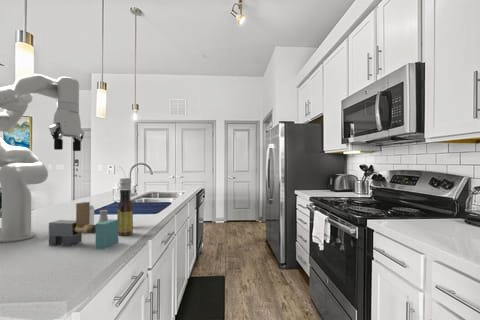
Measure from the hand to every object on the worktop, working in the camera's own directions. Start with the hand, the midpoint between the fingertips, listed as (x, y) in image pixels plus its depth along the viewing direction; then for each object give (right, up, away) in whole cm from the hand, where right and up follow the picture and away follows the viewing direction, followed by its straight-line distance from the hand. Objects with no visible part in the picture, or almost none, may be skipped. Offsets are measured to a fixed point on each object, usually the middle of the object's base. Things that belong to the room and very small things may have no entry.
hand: (68, 150), depth 108 cm
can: (-2, -37, +15) cm, 40 cm away
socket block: (+20, -36, -8) cm, 42 cm away
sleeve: (+2, -37, -5) cm, 37 cm away
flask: (+8, -37, +12) cm, 40 cm away
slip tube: (+7, -32, -6) cm, 33 cm away
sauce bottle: (+20, -37, +8) cm, 43 cm away
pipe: (+14, -37, +21) cm, 45 cm away
